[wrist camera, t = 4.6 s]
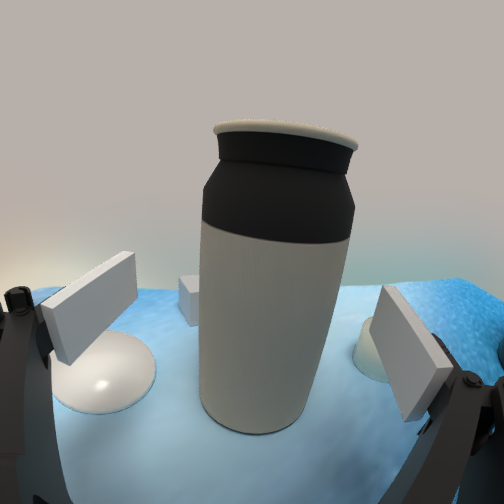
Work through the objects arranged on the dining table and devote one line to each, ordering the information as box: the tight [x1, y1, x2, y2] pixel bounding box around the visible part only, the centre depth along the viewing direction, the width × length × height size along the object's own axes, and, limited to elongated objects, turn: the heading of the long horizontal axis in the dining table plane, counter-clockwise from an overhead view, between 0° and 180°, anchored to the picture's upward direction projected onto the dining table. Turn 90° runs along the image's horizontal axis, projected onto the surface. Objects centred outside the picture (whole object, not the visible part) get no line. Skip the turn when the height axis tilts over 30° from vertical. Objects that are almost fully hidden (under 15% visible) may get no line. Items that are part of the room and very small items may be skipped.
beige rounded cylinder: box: [353, 317, 390, 383], centre depth 23 cm, size 6×6×4 cm
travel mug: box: [199, 119, 358, 434], centre depth 16 cm, size 8×8×18 cm
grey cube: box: [179, 274, 199, 327], centre depth 29 cm, size 4×4×4 cm
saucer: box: [50, 330, 156, 415], centre depth 18 cm, size 10×10×1 cm
